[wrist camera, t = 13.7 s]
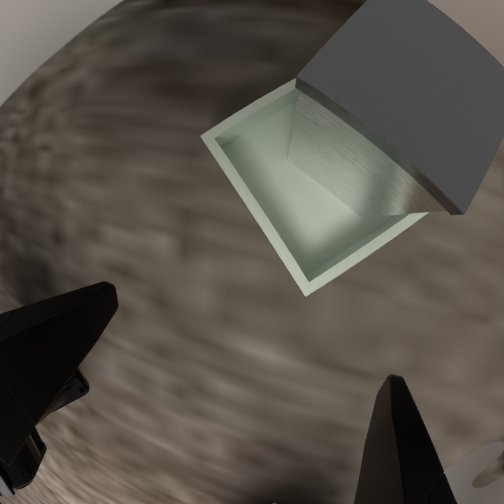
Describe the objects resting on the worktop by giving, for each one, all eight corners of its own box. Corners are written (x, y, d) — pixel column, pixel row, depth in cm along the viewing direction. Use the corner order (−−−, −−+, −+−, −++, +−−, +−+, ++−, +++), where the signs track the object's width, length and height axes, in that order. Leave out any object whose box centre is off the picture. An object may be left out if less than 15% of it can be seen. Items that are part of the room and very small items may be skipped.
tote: (301, 287, 21) (305, 296, 18) (210, 148, 21) (200, 136, 18) (464, 173, 19) (486, 167, 16) (381, 51, 19) (393, 31, 16)
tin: (361, 220, 20) (463, 214, 8) (284, 160, 20) (296, 75, 8) (410, 149, 19) (522, 87, 7) (338, 92, 19) (391, -24, 7)
